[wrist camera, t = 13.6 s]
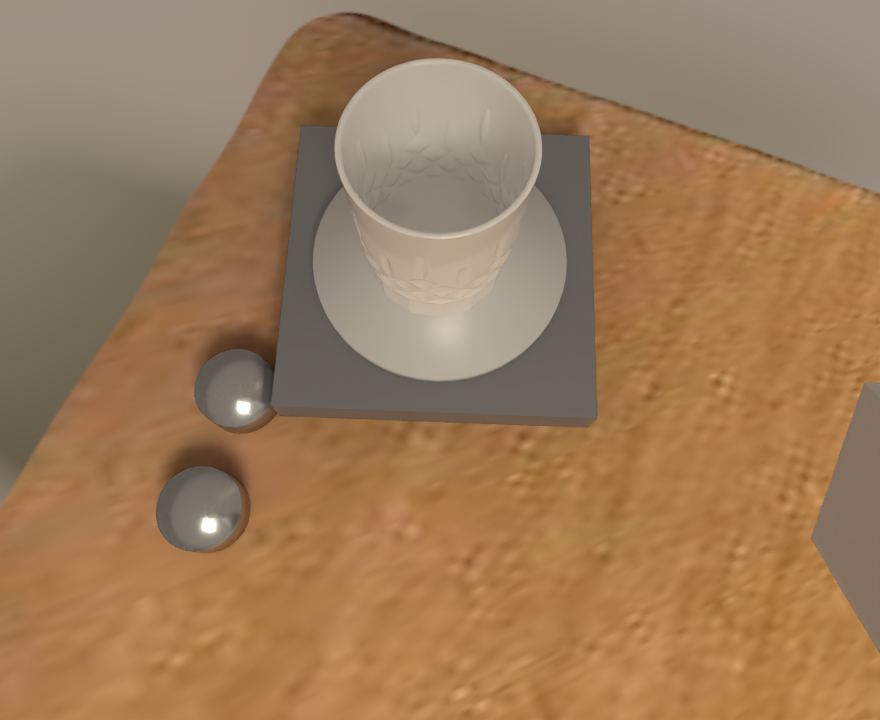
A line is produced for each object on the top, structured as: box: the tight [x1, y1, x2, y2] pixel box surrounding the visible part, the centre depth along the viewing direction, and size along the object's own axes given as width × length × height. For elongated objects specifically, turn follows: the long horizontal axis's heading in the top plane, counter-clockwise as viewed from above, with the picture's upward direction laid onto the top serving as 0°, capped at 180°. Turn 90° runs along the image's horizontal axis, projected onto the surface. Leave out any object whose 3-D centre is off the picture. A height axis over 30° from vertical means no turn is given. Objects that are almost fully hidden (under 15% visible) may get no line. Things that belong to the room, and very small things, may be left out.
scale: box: [271, 125, 597, 427], centre depth 38 cm, size 16×17×3 cm
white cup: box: [334, 58, 542, 318], centre depth 32 cm, size 8×8×10 cm
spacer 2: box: [156, 466, 250, 553], centre depth 35 cm, size 4×4×2 cm
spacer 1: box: [194, 349, 277, 434], centre depth 37 cm, size 4×4×2 cm
